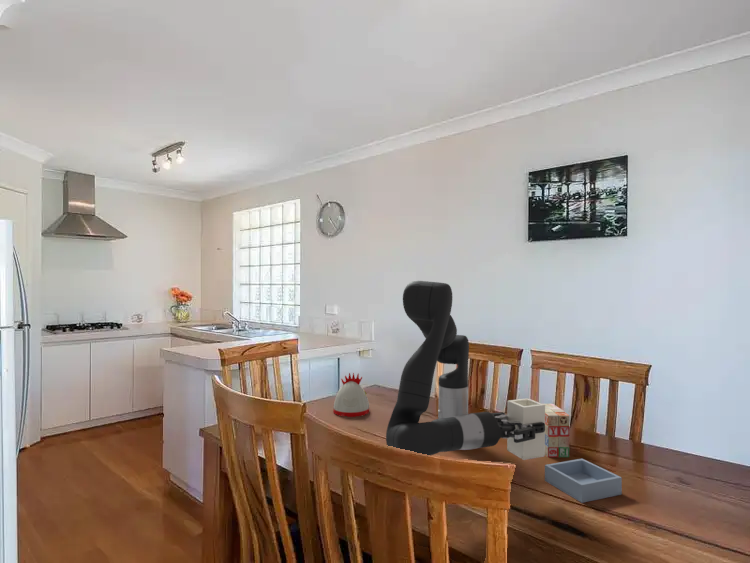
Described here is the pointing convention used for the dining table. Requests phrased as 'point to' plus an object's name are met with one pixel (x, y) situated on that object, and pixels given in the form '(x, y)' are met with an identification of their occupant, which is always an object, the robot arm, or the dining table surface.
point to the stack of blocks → (556, 431)
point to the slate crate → (583, 480)
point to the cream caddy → (526, 414)
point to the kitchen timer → (351, 398)
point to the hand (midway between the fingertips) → (534, 422)
